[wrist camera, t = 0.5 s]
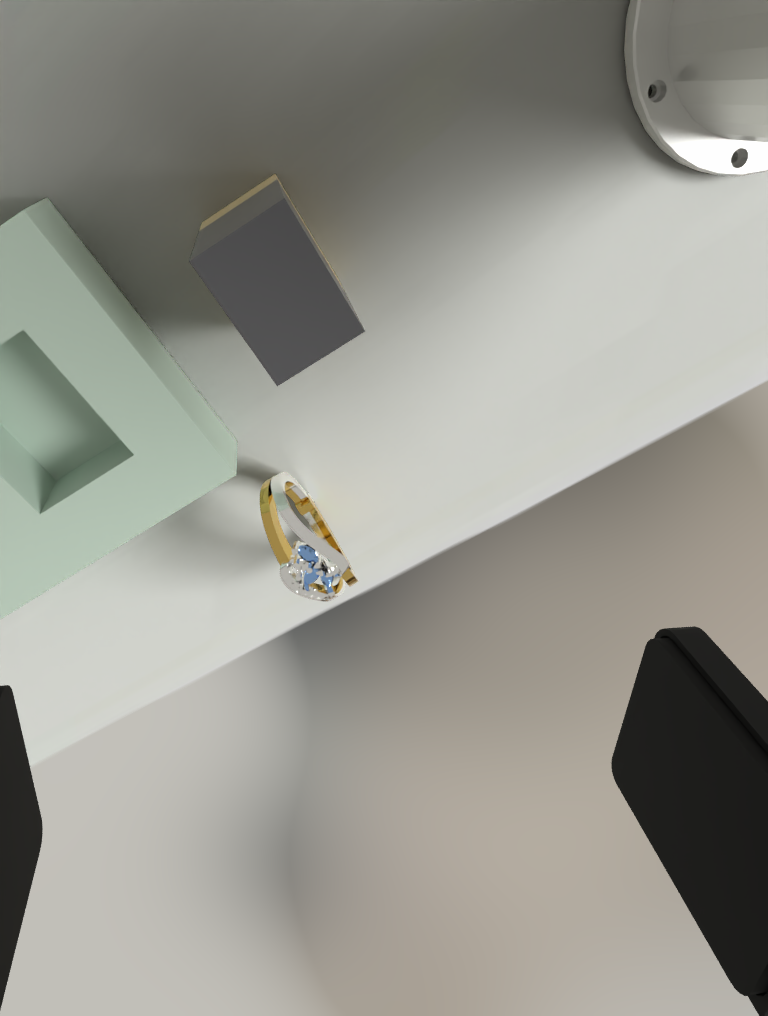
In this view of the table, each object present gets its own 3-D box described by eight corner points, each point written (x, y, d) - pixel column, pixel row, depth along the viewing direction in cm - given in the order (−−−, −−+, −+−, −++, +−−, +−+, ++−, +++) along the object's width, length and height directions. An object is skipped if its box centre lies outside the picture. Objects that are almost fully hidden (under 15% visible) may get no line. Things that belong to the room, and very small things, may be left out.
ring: (246, 465, 40) (246, 542, 33) (297, 436, 39) (309, 509, 32) (310, 555, 43) (323, 642, 36) (357, 530, 43) (379, 613, 36)
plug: (275, 173, 33) (284, 198, 25) (338, 279, 36) (364, 331, 28) (201, 222, 33) (188, 261, 26) (270, 323, 36) (277, 386, 28)
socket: (46, 197, 32) (17, 212, 28) (237, 441, 39) (236, 482, 35) (-230, 389, 34) (-296, 430, 30) (-1, 588, 41) (-29, 644, 37)
